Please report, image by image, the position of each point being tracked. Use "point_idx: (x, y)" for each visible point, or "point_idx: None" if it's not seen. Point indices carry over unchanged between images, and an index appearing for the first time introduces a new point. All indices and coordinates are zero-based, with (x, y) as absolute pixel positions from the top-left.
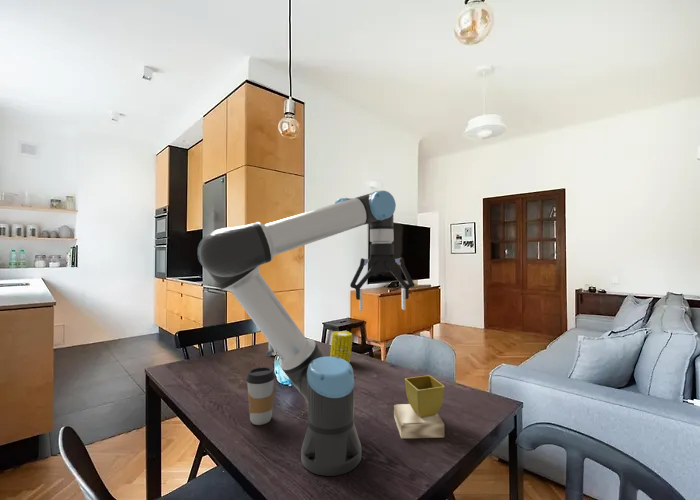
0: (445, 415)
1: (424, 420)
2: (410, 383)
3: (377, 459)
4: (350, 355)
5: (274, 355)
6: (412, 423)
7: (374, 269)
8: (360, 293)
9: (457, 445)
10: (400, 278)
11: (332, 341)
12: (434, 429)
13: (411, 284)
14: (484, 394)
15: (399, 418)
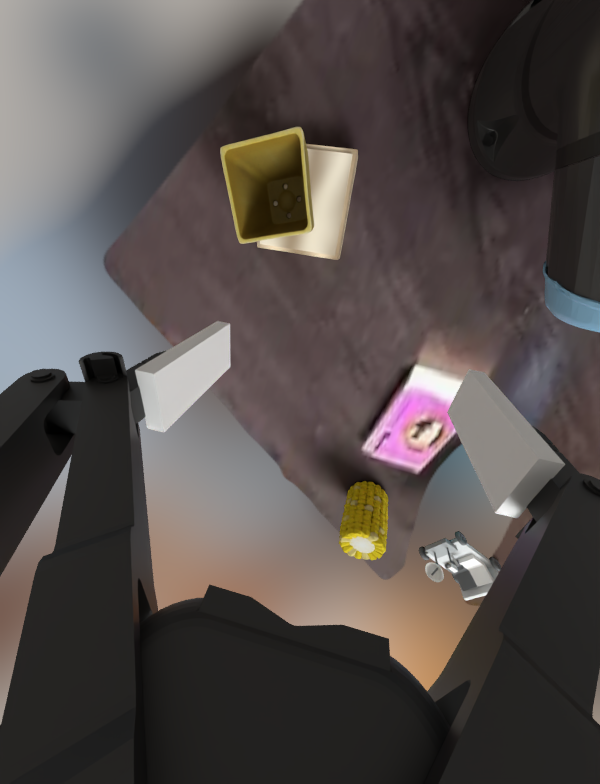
0: None
1: None
2: (306, 189)
3: (443, 63)
4: (347, 499)
5: (484, 556)
6: (329, 151)
7: (502, 751)
8: (540, 439)
9: (255, 105)
10: (91, 447)
11: (386, 533)
12: None
13: (46, 382)
14: (149, 309)
15: (349, 187)
